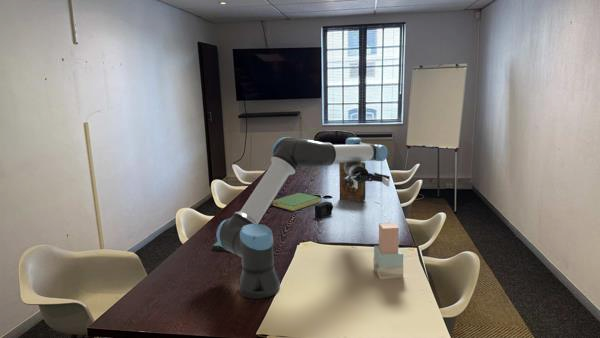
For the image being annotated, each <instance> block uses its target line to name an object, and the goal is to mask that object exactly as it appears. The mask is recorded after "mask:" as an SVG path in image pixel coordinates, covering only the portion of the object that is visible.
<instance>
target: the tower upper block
mask: <svg viewBox="0 0 600 338" xmlns="http://www.w3.org/2000/svg"><path fill="white" fill-rule="evenodd" d="M374 258H375V260H376V262H377V264H378V265H379V267H397V266H403V267H404V253H403V251H402V250H401V249H400V248H399V247H398V253H382V252H381V250H380V248H379V245H373V259H374Z"/></svg>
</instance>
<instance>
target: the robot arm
mask: <svg viewBox="0 0 600 338" xmlns="http://www.w3.org/2000/svg"><path fill="white" fill-rule="evenodd" d="M271 151H272V153H271V155H272V157H270V161H271V164H270V166H269V168H268V169H267V170H266V172H265V173H264V174H263V176H262V178H261V179H260V181H259V182H258V183H257V185H256V187H255V189H253V192H252V193H251V194H250V196H249V197H248V199H247V200H246V202H245V203H244V205H243V206H242V208H241V209H240V210H239V211H235V212H234V213H233V214H232V215H231V217H230V218H227V219H224V220H223V221H221V222H220V224H219V225H218V226H217V230H216V235H215V236H216V240H217V241H218V243H219V245H220V246H221V247H223V248H224V249H225V250H227V251H226V252H229V253H232V254H233V255H235V256H238V257H240V258H241V266H242V267H241V270H242V271H241V273H240V274H241V275H240V280H239V281H238V291H239V294H240V295H241V296H243V297H245V298H247V299H248V298H249V299H252V300H253V299H266V298H269V297H271V296H274V295H275V294H277V293H278V292H279V291H280V288H281V287H280V286H281V284H280V278H279V277H278V273H277V271H276V268H275V257H274V256H275V254H274V251H275V250H274V236H273V231H272V230H271V228H270V227H268V226H267V225H265V224H261V223H260V224H259V222H260V221H261V220H262V218H263V217H264V215H265V214H266V211H267V210H268V208H269V207H270V205H271V204H272V201H273V200H275V198H276V196H277V195H278V193H279V192H280V190H281V189H282V188H283V185H284V184H285V182H286V181H287V179H288V178H289V176H291V175H295V173H296V172H297V171H298V169H299V168H303V169H304V168H305V169H306V168H307V169H308V168H311V169H312V168H320V167H328V166H329V167H330V166H331V165H333V164H337V163H340V162H346V163H345V165H344V171H345V173H346V174H347V177H346V178H345V179H344V184H345V185H346V184H348V183H349V186H352V185H353V186H354V187H355V188H356V189H358V183H364V182H365V183H366V182H377V183H378V182H380V183H381V184H383V185H384V186H386V187H388V188H389V187H390V176H389V175H387V174H382V173H377V172H373V173H370V172H369V171H368V169H366V167H365V168H364V167H362V166H361V162H365V161H367V162H369V161H371V162H372V161H374V162H383V161H386V159H387V157H388V155H389V154H388V151H389V150H388V148H387V146H386V145H383V144H377V143H376V144H375V143H366V142H362V139H361V137H347V138H346V139H345V144H332V143H331V142H326V141H325V142H323V141H319V140H313V139H308V138H297V137H296V138H295V137H292V136H286V137H280V138H279V139H277V141H276V142H274V144H273V147H272V149H271ZM217 241H216V242H217Z"/></svg>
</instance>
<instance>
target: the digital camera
mask: <svg viewBox="0 0 600 338" xmlns="http://www.w3.org/2000/svg"><path fill="white" fill-rule="evenodd" d="M333 209H334V205H333V204H332V201H327V200H326V201H323V202H319V203H317V204H314V217H315V218H318V219H323V218H326V217H327V216H330V215H332V213H333Z"/></svg>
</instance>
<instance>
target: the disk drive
mask: <svg viewBox="0 0 600 338" xmlns="http://www.w3.org/2000/svg"><path fill="white" fill-rule="evenodd" d="M212 250H213V251H214V250H215V251H226V252H228V251H227V250H225V249H224V248H223V247H221V246H220V245H219V243H218V241H216V242H215V243H214V244H213V245H212Z"/></svg>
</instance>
